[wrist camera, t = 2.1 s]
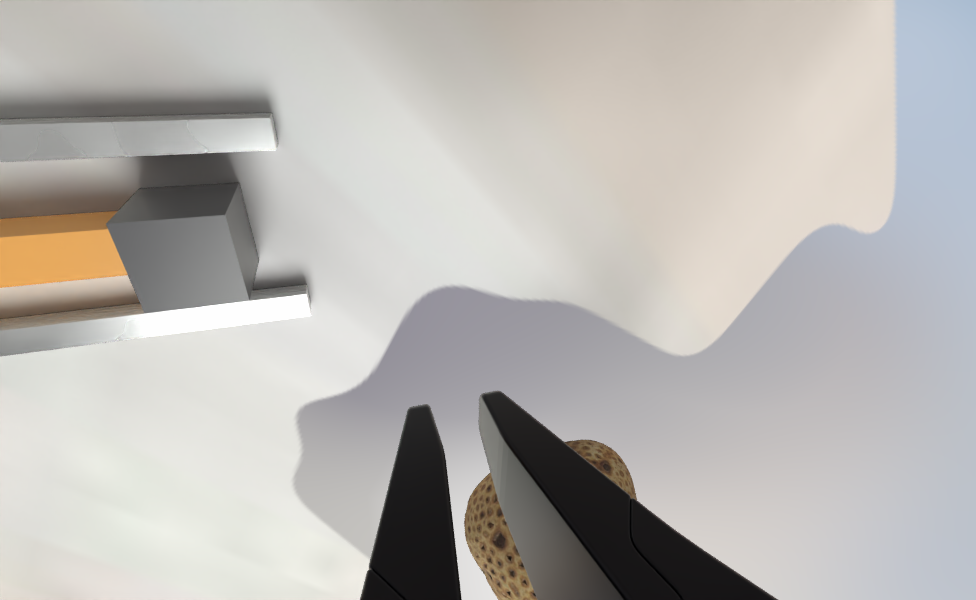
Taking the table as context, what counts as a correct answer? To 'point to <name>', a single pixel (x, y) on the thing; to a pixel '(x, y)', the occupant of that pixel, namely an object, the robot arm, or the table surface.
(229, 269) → the grey-capped orange bar
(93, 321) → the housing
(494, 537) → the natural sponge
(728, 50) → the table surface
